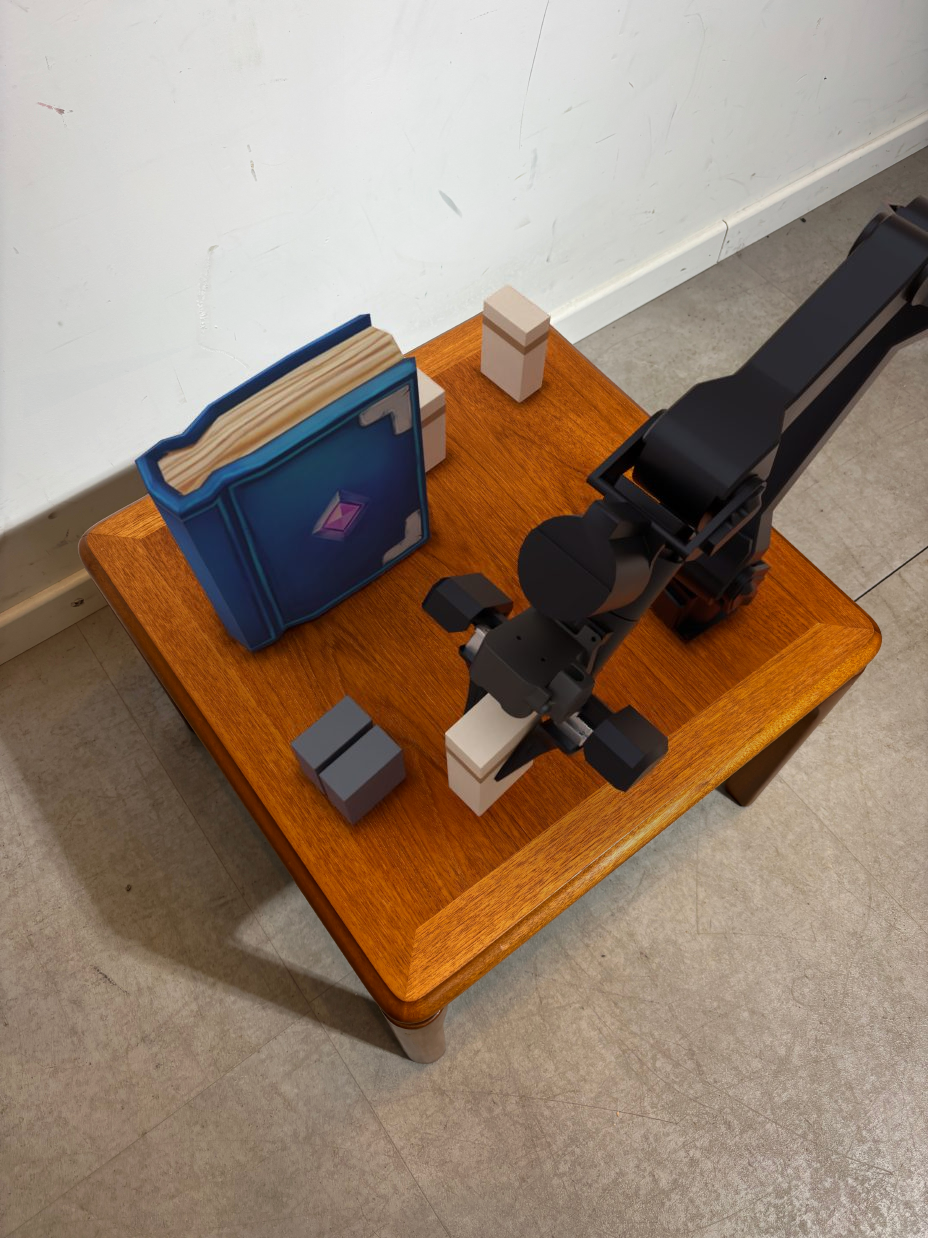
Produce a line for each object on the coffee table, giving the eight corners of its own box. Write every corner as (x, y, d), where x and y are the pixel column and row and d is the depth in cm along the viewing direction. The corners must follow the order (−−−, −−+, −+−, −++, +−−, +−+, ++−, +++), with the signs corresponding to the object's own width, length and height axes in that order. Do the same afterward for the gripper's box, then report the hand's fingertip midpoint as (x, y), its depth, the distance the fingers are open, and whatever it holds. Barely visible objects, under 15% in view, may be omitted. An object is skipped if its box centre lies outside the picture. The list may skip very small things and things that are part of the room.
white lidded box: (502, 734, 72) (508, 673, 61) (533, 764, 71) (545, 707, 60) (448, 786, 70) (444, 733, 59) (479, 817, 69) (480, 769, 58)
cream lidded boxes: (542, 386, 96) (551, 315, 87) (421, 476, 91) (418, 410, 82) (502, 355, 98) (507, 282, 89) (382, 441, 93) (374, 373, 84)
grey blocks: (355, 725, 78) (347, 694, 72) (406, 777, 76) (402, 749, 70) (302, 771, 76) (289, 743, 70) (352, 826, 74) (344, 802, 68)
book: (246, 671, 80) (168, 513, 58) (204, 616, 83) (114, 445, 61) (435, 542, 87) (429, 356, 65) (390, 495, 90) (371, 300, 67)
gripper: (438, 507, 54) (322, 695, 60) (678, 716, 48) (522, 901, 54) (521, 505, 64) (414, 668, 70) (731, 680, 58) (592, 840, 64)
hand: (479, 761), depth 64 cm, fingers closed on white lidded box, 3 cm apart
